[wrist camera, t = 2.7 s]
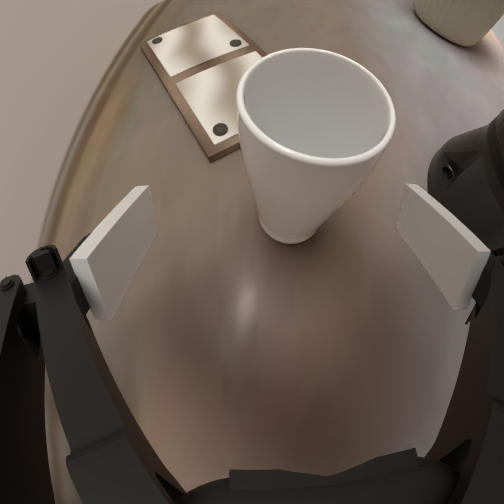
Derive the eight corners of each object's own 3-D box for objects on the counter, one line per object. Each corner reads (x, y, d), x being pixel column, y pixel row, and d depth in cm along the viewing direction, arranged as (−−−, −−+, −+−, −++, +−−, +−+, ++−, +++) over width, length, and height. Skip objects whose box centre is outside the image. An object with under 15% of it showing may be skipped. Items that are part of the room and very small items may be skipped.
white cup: (343, 216, 25) (423, 110, 10) (289, 271, 24) (331, 204, 9) (288, 165, 26) (308, 30, 11) (233, 214, 25) (198, 93, 10)
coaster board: (219, 17, 31) (218, 9, 30) (317, 113, 27) (319, 104, 25) (141, 49, 31) (138, 41, 29) (210, 162, 26) (207, 154, 25)
